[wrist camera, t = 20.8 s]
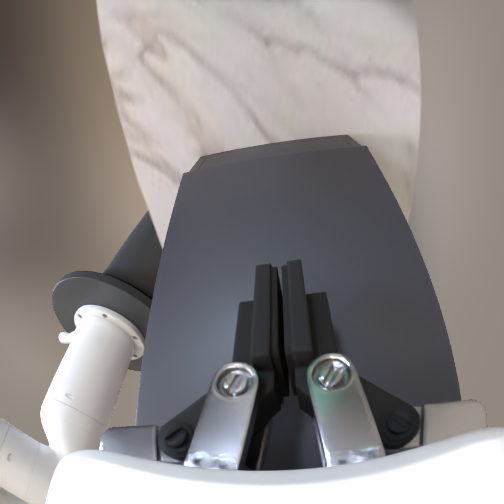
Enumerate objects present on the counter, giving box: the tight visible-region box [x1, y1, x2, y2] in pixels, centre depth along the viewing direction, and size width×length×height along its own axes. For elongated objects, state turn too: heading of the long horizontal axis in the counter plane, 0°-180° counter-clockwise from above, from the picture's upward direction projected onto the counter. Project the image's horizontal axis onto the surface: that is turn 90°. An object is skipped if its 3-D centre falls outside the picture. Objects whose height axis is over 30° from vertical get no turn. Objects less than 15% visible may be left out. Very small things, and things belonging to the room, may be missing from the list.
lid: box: [136, 146, 461, 471], centre depth 13 cm, size 20×14×1 cm
